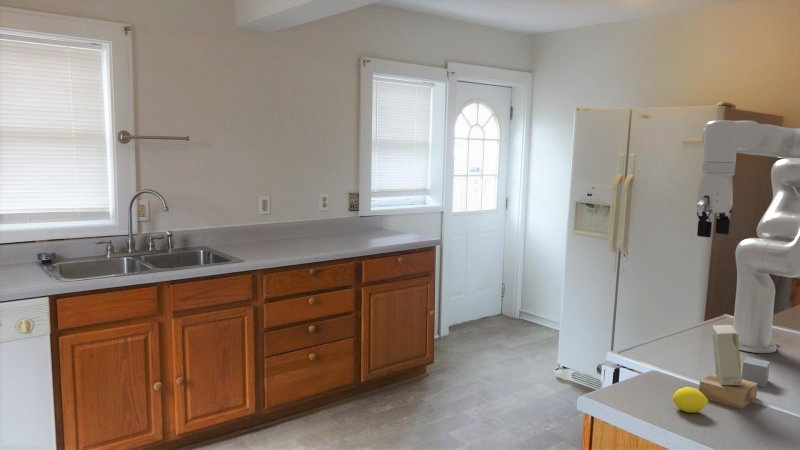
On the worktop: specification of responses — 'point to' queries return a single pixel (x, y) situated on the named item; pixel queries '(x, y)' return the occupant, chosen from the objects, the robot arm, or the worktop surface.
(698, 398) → the lemon
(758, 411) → the worktop surface
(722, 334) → the skincare box
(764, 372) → the grey block
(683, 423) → the worktop surface
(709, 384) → the oak block
